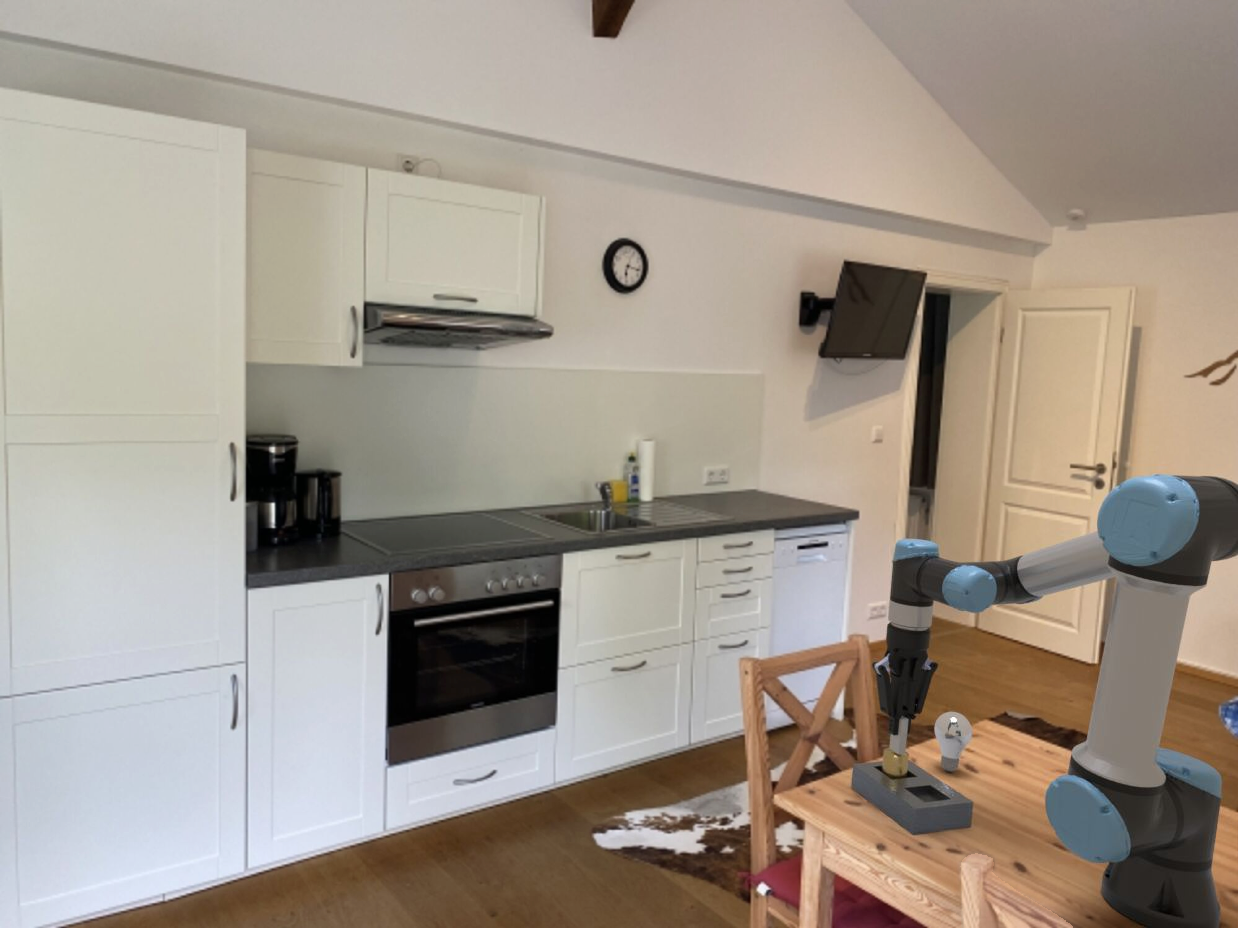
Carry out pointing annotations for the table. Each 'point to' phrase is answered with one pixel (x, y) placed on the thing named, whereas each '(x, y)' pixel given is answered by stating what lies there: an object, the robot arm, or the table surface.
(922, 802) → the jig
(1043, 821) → the table surface
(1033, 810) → the table surface
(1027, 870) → the table surface
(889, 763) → the brass cylinder
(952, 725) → the light bulb
